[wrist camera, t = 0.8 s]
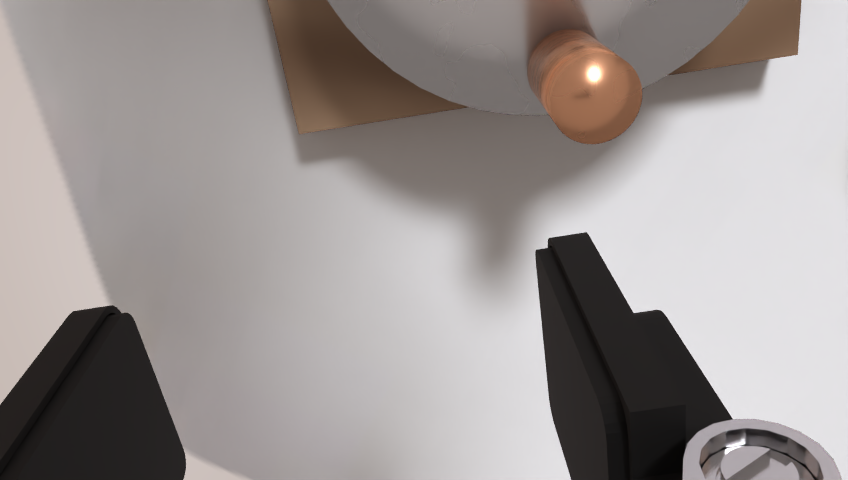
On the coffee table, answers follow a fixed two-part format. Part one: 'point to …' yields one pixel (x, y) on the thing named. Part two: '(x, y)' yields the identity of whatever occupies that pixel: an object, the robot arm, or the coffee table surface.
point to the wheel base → (398, 97)
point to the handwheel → (540, 52)
